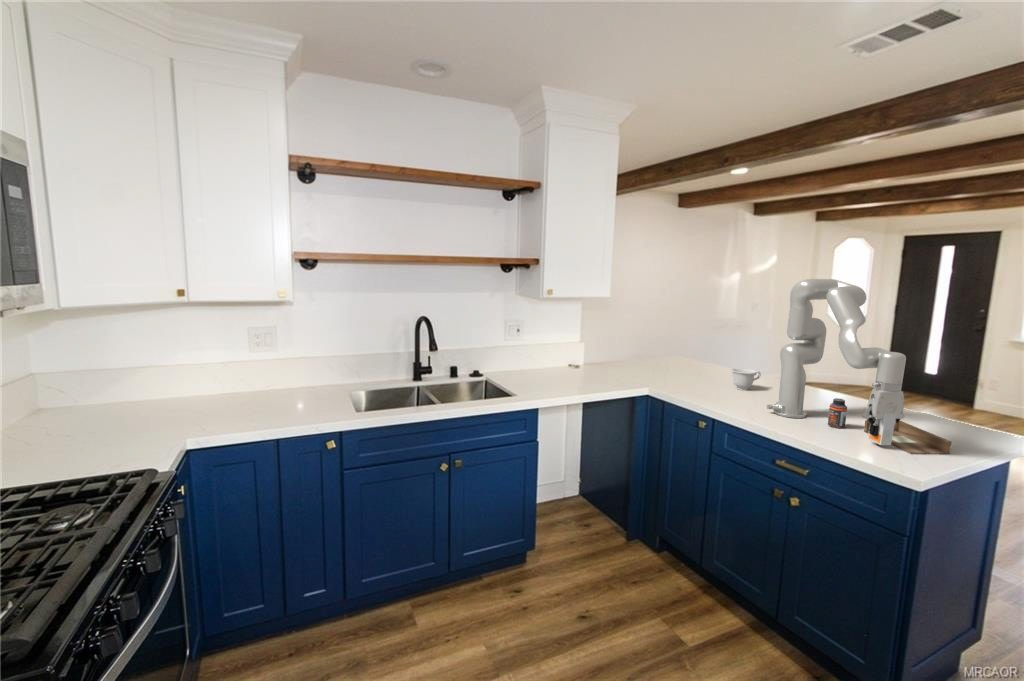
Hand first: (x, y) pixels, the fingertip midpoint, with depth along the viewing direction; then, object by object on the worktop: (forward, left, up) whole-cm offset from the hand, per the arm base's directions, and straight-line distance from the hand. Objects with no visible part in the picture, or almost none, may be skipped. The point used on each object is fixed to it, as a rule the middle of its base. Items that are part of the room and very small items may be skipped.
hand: (880, 434), depth 174 cm
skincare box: (0, 0, -3) cm, 3 cm away
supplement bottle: (-2, +21, -4) cm, 22 cm away
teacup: (-11, +81, -4) cm, 82 cm away
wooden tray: (+12, +4, -4) cm, 13 cm away
